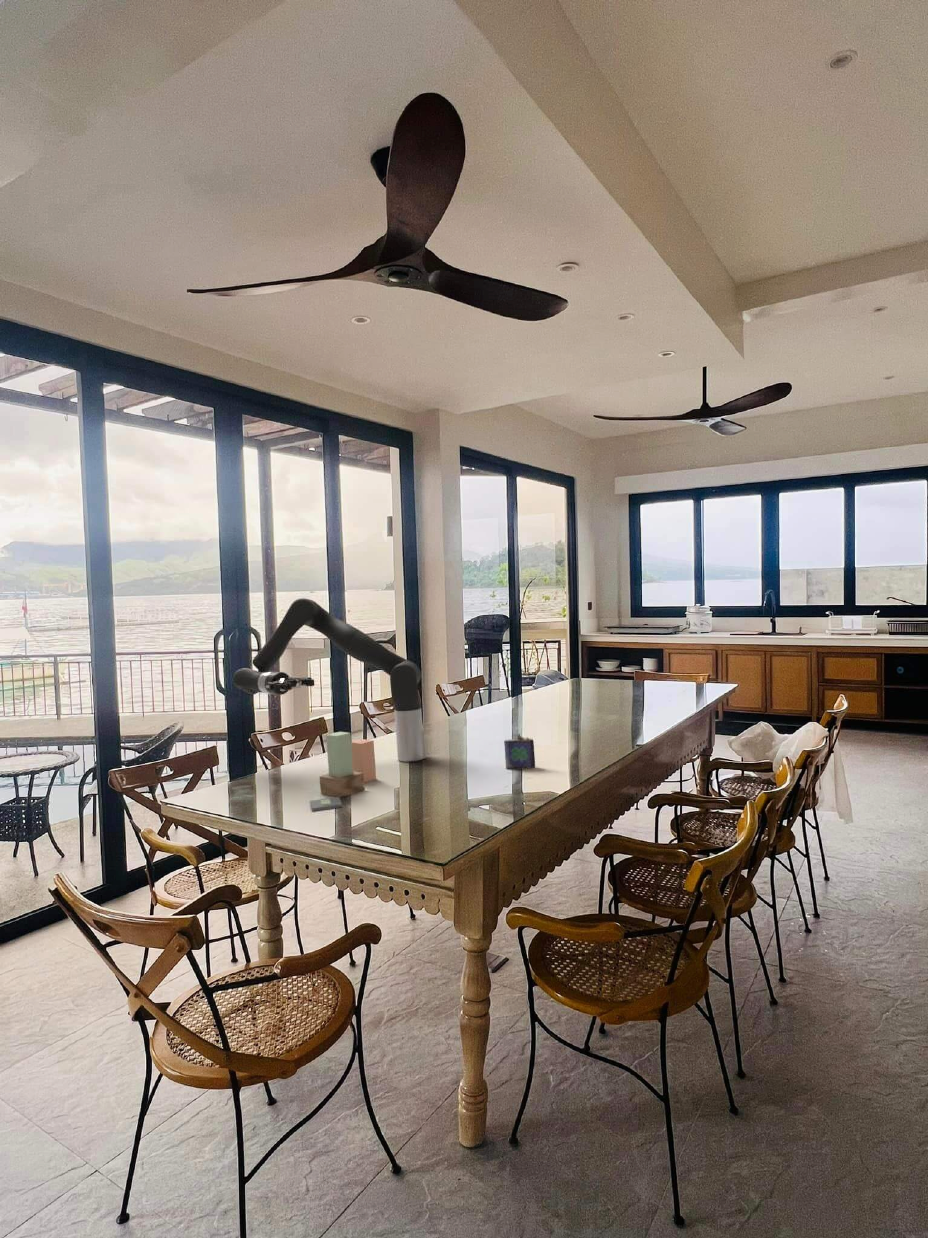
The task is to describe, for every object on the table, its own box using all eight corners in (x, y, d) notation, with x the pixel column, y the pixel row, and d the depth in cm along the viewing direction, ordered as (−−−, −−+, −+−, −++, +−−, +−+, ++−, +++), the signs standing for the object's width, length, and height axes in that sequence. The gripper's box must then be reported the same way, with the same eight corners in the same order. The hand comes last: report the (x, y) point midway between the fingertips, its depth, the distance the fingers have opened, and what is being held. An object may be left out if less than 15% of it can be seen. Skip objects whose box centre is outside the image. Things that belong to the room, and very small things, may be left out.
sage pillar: (342, 771, 212) (339, 731, 212) (353, 773, 209) (350, 733, 209) (329, 775, 209) (326, 734, 208) (339, 777, 205) (336, 736, 205)
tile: (338, 799, 201) (338, 796, 201) (342, 807, 193) (341, 803, 193) (309, 803, 199) (309, 800, 198) (312, 811, 191) (311, 807, 191)
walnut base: (345, 785, 215) (344, 769, 215) (364, 789, 209) (363, 772, 209) (320, 793, 209) (319, 776, 209) (339, 797, 203) (338, 780, 202)
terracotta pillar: (365, 777, 224) (363, 739, 224) (376, 779, 221) (373, 740, 221) (353, 780, 221) (350, 742, 220) (363, 783, 217) (360, 743, 217)
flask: (505, 769, 222) (503, 735, 222) (506, 767, 225) (504, 733, 224) (535, 768, 220) (532, 734, 220) (535, 766, 223) (533, 732, 223)
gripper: (254, 674, 233) (281, 675, 222) (291, 669, 243) (319, 670, 232) (255, 697, 233) (283, 699, 222) (293, 691, 244) (321, 693, 233)
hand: (302, 684), depth 227 cm, fingers open, 8 cm apart
